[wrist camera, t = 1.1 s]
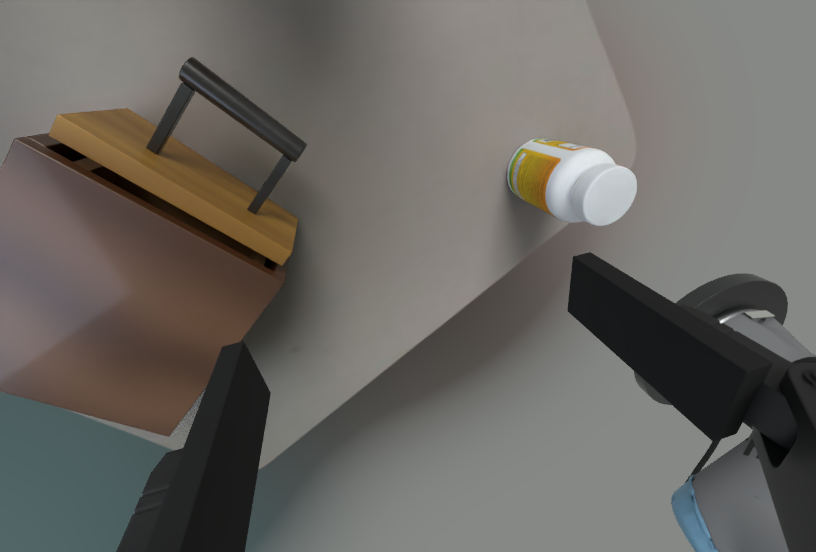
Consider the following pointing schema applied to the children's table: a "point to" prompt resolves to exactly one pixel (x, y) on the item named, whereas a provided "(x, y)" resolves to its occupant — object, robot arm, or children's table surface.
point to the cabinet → (112, 294)
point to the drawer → (190, 166)
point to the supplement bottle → (571, 181)
